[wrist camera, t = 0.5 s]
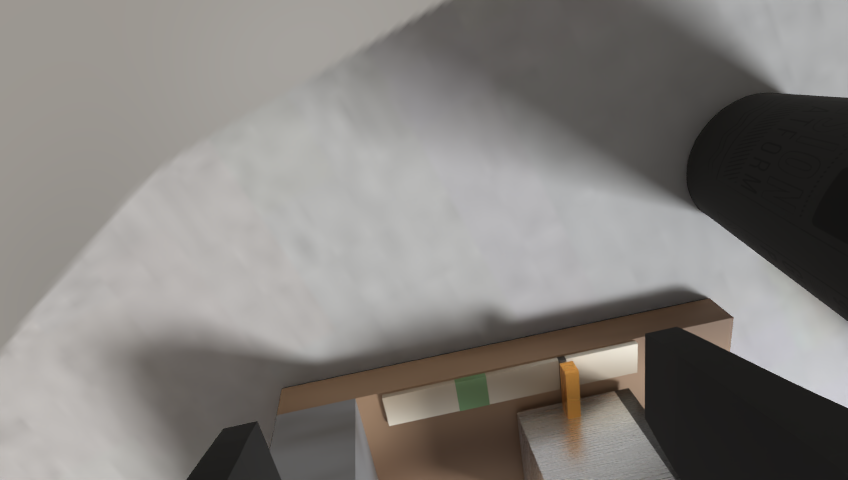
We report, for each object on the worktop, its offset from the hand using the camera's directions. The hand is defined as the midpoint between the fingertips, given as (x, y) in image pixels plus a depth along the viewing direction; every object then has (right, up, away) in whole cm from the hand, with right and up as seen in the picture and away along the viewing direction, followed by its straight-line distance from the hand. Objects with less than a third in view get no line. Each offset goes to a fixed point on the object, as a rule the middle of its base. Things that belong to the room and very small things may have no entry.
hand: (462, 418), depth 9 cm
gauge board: (+3, -5, +13) cm, 15 cm away
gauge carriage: (+5, -4, +11) cm, 13 cm away
